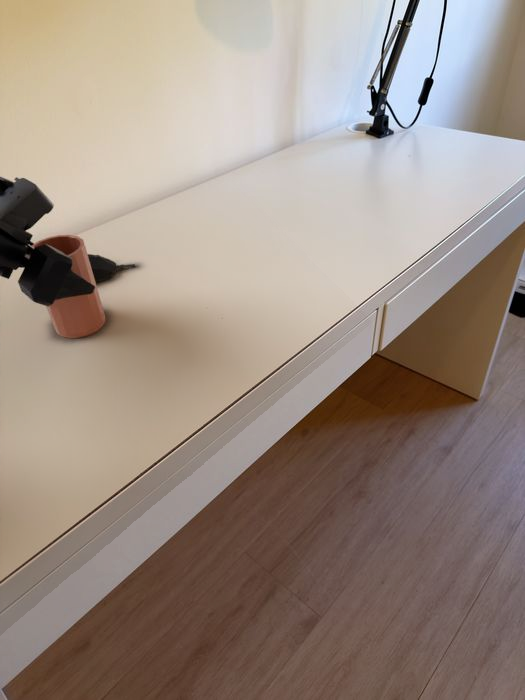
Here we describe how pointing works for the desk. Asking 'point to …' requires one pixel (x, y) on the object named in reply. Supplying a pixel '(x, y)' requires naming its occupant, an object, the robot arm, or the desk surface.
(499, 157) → the desk surface
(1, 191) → the robot arm
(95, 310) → the pen cup
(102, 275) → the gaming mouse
